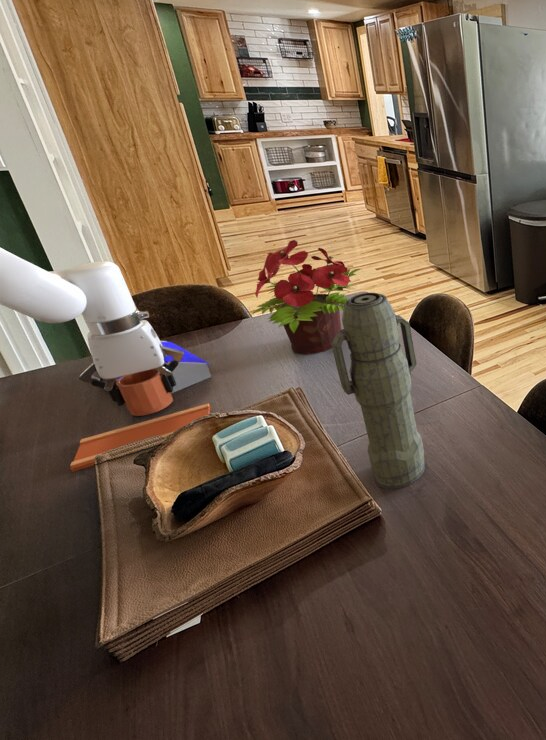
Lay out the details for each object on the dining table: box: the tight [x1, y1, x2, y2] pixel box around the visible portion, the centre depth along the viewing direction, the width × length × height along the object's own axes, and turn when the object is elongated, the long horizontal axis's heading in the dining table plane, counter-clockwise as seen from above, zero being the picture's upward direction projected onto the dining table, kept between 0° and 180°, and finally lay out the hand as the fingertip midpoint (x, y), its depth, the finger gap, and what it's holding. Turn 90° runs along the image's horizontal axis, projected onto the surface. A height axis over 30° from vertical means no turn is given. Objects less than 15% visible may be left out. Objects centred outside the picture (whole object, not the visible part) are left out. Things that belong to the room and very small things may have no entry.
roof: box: [115, 340, 212, 394], centre depth 114 cm, size 22×14×7 cm, turn 60°
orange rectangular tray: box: [69, 402, 211, 473], centre depth 96 cm, size 20×10×1 cm, turn 126°
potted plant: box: [251, 239, 363, 355], centre depth 124 cm, size 30×27×30 cm
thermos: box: [331, 292, 426, 490], centre depth 80 cm, size 9×12×35 cm
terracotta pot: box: [115, 369, 174, 417], centre depth 102 cm, size 7×7×8 cm
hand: (147, 395), depth 102 cm, fingers closed on terracotta pot, 7 cm apart
